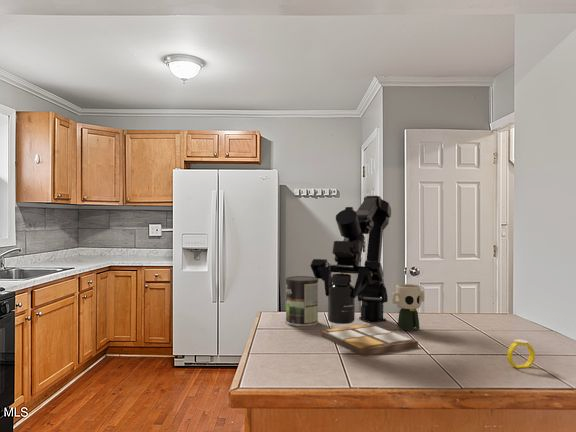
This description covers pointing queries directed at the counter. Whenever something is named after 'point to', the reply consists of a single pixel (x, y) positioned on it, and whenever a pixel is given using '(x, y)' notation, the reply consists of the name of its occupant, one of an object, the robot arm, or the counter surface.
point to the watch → (511, 349)
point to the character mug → (408, 305)
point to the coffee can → (302, 300)
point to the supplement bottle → (341, 300)
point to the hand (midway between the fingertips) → (339, 296)
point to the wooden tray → (368, 339)
